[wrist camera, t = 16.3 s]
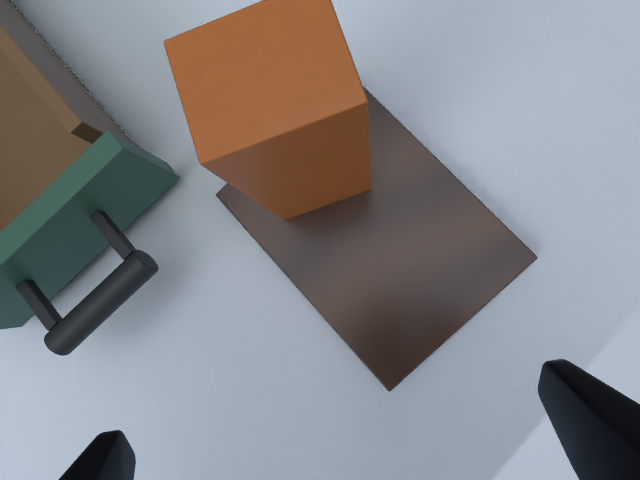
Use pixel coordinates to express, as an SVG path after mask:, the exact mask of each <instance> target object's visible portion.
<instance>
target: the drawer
mask: <svg viewBox="0 0 640 480" xmlns="http://www.w3.org/2000/svg"><path fill="white" fill-rule="evenodd" d="M178 178H179V176H178V175H177V174H176V173H175V172H174V170H173V169H172V168H171V167H170V166H169V165H168V164H167V163H166V162H164V161H162V160H161V159H159V158H157V157H155V156H154V155H152V154H150V153H148V152H146V151H145V150H143V149H141V148H139V147H138V146H136V145H134V144H132V143H131V141H130V140H129V139H128V138H127V137H126V136H125V135H124V133H123V132H122V131H121V130H120V129H119V128H118V126H117V125H116V124H115V123H114V122H113V121H112V119H111V118H110V117H109V116H108V115H107V114H106V112H105V111H104V110H103V109H102V108H101V107H100V105H99V104H98V103H97V102H96V101H95V100H94V98H93V97H92V96H91V95H90V94H89V93H88V92H87V90H86V89H85V88H84V87H83V86H82V85H81V83H80V82H79V81H78V80H77V79H76V78H75V76H74V75H73V74H72V73H71V72H70V71H69V69H68V68H67V67H66V66H65V65H64V64H63V62H62V61H61V60H60V59H59V58H58V57H57V56H56V54H55V53H54V52H53V51H52V50H51V49H50V47H49V46H48V45H47V44H46V43H45V42H44V40H43V39H42V38H41V37H40V36H39V35H38V33H37V32H36V31H35V30H34V29H33V28H32V26H31V25H30V24H29V23H28V22H27V21H26V19H25V18H24V17H23V16H22V15H21V14H20V13H19V11H18V10H17V9H16V8H15V7H14V6H13V4H12V3H11V2H10V1H9V0H0V329H8V328H15V327H22V326H23V325H24V324H25V323H26V322H27V321H28V320H29V319H30V318H31V317H32V316H34V315H35V314H36V316H37V317H38V318H39V320H40V321H41V322H42V324H43V325H44V326H45V328H46V329H47V330H48V331H49V332H48V333H47V334H46V335H45V338H44V342H45V344H46V346H47V347H48V349H49V350H51V351H52V352H54V353H55V354H58V355H68V354H70V353H71V352H72V351H73V350H74V349H75V348H76V347H77V346H78V345H79V344H80V343H81V342H82V341H84V340H85V339H86V338H87V337H88V336H89V335H90V334H91V333H92V332H93V331H94V330H95V329H96V328H97V327H98V326H100V325H101V324H102V323H103V322H104V321H105V320H106V319H107V318H108V317H109V316H110V315H111V314H112V313H113V312H114V311H116V310H117V309H118V308H119V307H120V306H121V305H122V304H123V303H124V302H125V301H126V300H127V299H128V298H129V297H130V296H132V295H133V294H134V293H135V292H136V291H137V290H138V289H139V288H140V287H141V286H142V285H143V284H144V283H145V282H146V281H148V280H149V279H150V278H151V277H152V276H153V275H154V274H155V273H156V272H157V271H158V266H157V264H156V262H155V261H154V260H153V259H152V258H151V257H150V256H149V255H148V254H146V253H145V252H143V251H141V250H136V249H135V248H134V247H133V245H132V244H131V243H130V242H129V240H128V239H127V238H126V237H125V236H124V234H123V233H122V231H123V230H125V229H126V228H127V227H128V226H129V225H130V224H131V223H132V222H133V221H134V220H135V219H136V218H137V217H138V216H139V215H140V214H141V213H143V212H144V211H145V210H146V209H147V208H148V207H149V206H150V205H151V204H152V203H153V202H154V201H155V200H156V199H157V198H158V197H159V196H161V195H162V194H163V193H164V192H165V191H166V190H167V189H168V188H169V187H170V186H171V185H172V184H173V183H174V182H175V181H176V180H177V179H178ZM109 244H111V245H112V246H113V248H114V249H115V250H116V251H117V253H118V254H119V255H120V256H121V258H122V259H123V260H125V261H124V262H123V263H121V264H120V265H119V266H118V267H117V268H116V269H115V270H114V271H113V272H112V273H111V274H110V275H109V276H108V277H107V278H106V279H104V280H103V281H102V282H101V283H100V284H99V285H98V286H97V287H96V288H95V289H94V290H93V291H92V292H91V293H90V294H89V295H87V296H86V297H85V298H84V299H83V300H82V301H81V302H80V303H79V304H78V305H77V306H76V307H75V308H74V309H73V310H72V311H70V312H69V313H68V314H67V315H66V316H65V317H64V318H63V319H62V317H61V316H60V315H59V313H58V312H57V311H56V309H55V308H54V307H53V305H52V304H51V303H50V301H49V300H50V299H52V298H53V297H54V296H55V295H56V294H57V293H58V292H59V291H60V290H61V289H62V288H63V287H64V286H65V285H66V284H67V283H68V282H70V281H71V280H72V279H73V278H74V277H75V276H76V275H77V274H78V273H79V272H80V271H81V270H82V269H83V268H84V267H85V266H86V265H88V264H89V263H90V262H91V261H92V260H93V259H94V258H95V257H96V256H97V255H98V254H99V253H100V252H101V251H102V250H103V249H104V248H105V247H107V246H108V245H109Z"/></svg>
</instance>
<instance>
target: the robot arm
mask: <svg viewBox="0 0 640 480" xmlns="http://www.w3.org/2000/svg"><path fill="white" fill-rule="evenodd" d="M538 393H539V397H540V399H541V401H542V404H543V406H544V408H545V410H546V412H547V414H548V416H549V419H550V421H551V423H552V425H553V427H554V429H555V431H556V433H557V436H558V438H559V440H560V442H561V444H562V446H563V448H564V451H565V453H566V455H567V457H568V459H569V461H570V463H571V465H572V467H573V469H574V471H575V472H576V474H577V476H578V478H579V480H640V404H638V403H637V402H635V401H633V400H632V399H630V398H628V397H627V396H625V395H623V394H622V393H620V392H618V391H617V390H615V389H614V388H612V387H610V386H609V385H607V384H605V383H604V382H602V381H600V380H599V379H597V378H595V377H594V376H592V375H590V374H589V373H587V372H586V371H584V370H582V369H581V368H579V367H577V366H576V365H574V364H572V363H571V362H569V361H567V360H564V359H558V360H551V361H546V362H545V363H544V364H543V366H542V371H541V375H540V380H539V384H538ZM135 464H136V459H135V454H134V451H133V449H132V448H131V446H130V444H129V442H128V440H127V439H126V437H125V435H124V433H123V432H122V431H120V430H115V431H109V432H103V433H101V434H99V435H98V436H97V437H96V438H95V439H94V440H93V441H92V442H91V443H90V444H89V445H88V447H87V448H86V449H85V450H84V451H83V452H82V453H81V455H80V456H79V457H78V458H77V459H76V460H75V461H74V463H73V464H72V465H71V466H70V467H69V468H68V469H67V471H66V472H65V473H64V474H63V475H62V476H61V477H60V479H59V480H133V479H134V472H135Z"/></svg>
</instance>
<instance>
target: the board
mask: <svg viewBox="0 0 640 480" xmlns="http://www.w3.org/2000/svg"><path fill="white" fill-rule="evenodd" d="M363 89H364V92H365V95H366V97H367V100H368V119H369V141H370V163H371V185H372V189H371V190H369V191H366V192H363V193H360V194H357V195H354V196H352V197H349V198H346V199H343V200H340V201H337V202H335V203H332V204H329V205H326V206H323V207H321V208H318V209H315V210H312V211H309V212H306V213H304V214H301V215H298V216H295V217H292V218H290V219H287V220H283V219H282V218H280V217H279V216H277V215H276V214H274V213H273V212H271V211H270V210H268V209H267V208H265V207H264V206H262V205H261V204H259V203H258V202H256V201H255V200H253V199H252V198H250V197H248V196H247V195H245V194H244V193H242V192H241V191H239V190H238V189H236V188H235V187H233V186H232V185H230V184H229V183H227V184H226V185H225V186H224V187H223V188H222V189H221V190H220V191H219V192H218V193H217V194H216V196H217V197H218V198H219V199H220V200H221V202H222V203H223V204H224V205H225V206H226V207H227V208H228V210H229V211H230V212H231V213H232V214H233V215H234V216H235V217H236V219H237V220H238V221H239V222H240V223H241V224H242V225H243V227H244V228H245V229H246V230H247V231H248V232H249V233H250V234H251V236H252V237H253V238H254V239H255V240H256V241H257V242H258V244H259V245H260V246H261V247H262V248H263V249H264V250H265V251H266V253H267V254H268V255H269V256H270V257H271V258H272V259H273V261H274V262H275V263H276V264H277V265H278V266H279V267H280V268H281V270H282V271H283V272H284V273H285V274H286V275H287V276H288V278H289V279H290V280H291V281H292V282H293V283H294V284H295V286H296V287H297V288H298V289H299V290H300V291H301V292H302V293H303V295H304V296H305V297H306V298H307V299H308V300H309V301H310V303H311V304H312V305H313V306H314V307H315V308H316V309H317V310H318V312H319V313H320V314H321V315H322V316H323V317H324V318H325V320H326V321H327V322H328V323H329V324H330V325H331V326H332V327H333V329H334V330H335V331H336V332H337V333H338V334H339V335H340V337H341V338H342V339H343V340H344V341H345V342H346V343H347V344H348V346H349V347H350V348H351V349H352V350H353V351H354V352H355V354H356V355H357V356H358V357H359V358H360V359H361V360H362V361H363V363H364V364H365V365H366V366H367V367H368V368H369V369H370V371H371V372H372V373H373V374H374V375H375V376H376V377H377V378H378V380H379V381H380V382H381V383H382V384H383V385H384V386H385V388H386V389H387V390H388V391H391V390H392V389H393V388H394V387H395V386H397V385H398V384H399V383H400V382H401V381H402V380H403V379H404V378H405V377H406V376H408V375H409V374H410V373H411V372H412V371H413V370H414V369H415V368H416V367H418V366H419V365H420V364H421V363H422V362H423V361H424V360H425V359H426V358H428V357H429V356H430V355H431V354H432V353H433V352H434V351H435V350H436V349H437V348H439V347H440V346H441V345H442V344H443V343H444V342H445V341H446V340H447V339H449V338H450V337H451V336H452V335H453V334H454V333H455V332H456V331H457V330H459V329H460V328H461V327H462V326H463V325H464V324H465V323H466V322H467V321H468V320H470V319H471V318H472V317H473V316H474V315H475V314H476V313H477V312H478V311H480V310H481V309H482V308H483V307H484V306H485V305H486V304H487V303H488V302H489V301H491V300H492V299H493V298H494V297H495V296H496V295H497V294H498V293H499V292H501V291H502V290H503V289H504V288H505V287H506V286H507V285H508V284H509V283H511V282H512V281H513V280H514V279H515V278H516V277H517V276H518V275H519V274H520V273H522V272H523V271H524V270H525V269H526V268H527V267H528V266H529V265H530V264H532V263H533V262H534V261H535V260H536V259H537V258H538V257H537V256H536V255H535V254H534V253H533V252H532V251H531V250H530V249H529V248H528V247H527V246H526V245H525V244H524V243H523V242H522V241H521V240H520V239H519V238H517V237H516V236H515V235H514V234H513V233H512V232H511V231H510V230H509V229H508V228H507V227H506V226H505V225H504V224H503V223H502V222H501V221H500V220H499V219H498V218H497V217H496V216H495V215H494V214H493V213H492V212H491V211H490V210H489V209H488V208H487V207H486V206H485V205H484V204H483V203H482V202H481V201H480V200H479V199H478V198H477V197H476V196H475V195H474V194H473V193H472V192H471V191H469V190H468V189H467V188H466V187H465V186H464V185H463V184H462V183H461V182H460V181H459V180H458V179H457V178H456V177H455V176H454V175H453V174H452V173H451V172H450V171H449V170H448V169H447V168H446V167H445V166H444V165H443V164H442V163H441V162H440V161H439V160H438V159H437V158H436V157H435V156H434V155H433V154H432V153H431V152H430V151H429V150H428V149H427V148H426V147H425V146H424V145H423V144H421V143H420V142H419V141H418V140H417V139H416V138H415V137H414V136H413V135H412V134H411V133H410V132H409V131H408V130H407V129H406V128H405V127H404V126H403V125H402V124H401V123H400V122H399V121H398V120H397V119H396V118H395V117H394V116H393V115H392V114H391V113H390V112H389V111H388V110H387V109H386V108H385V107H384V106H383V105H382V104H381V103H380V102H379V101H378V100H377V99H376V98H375V97H373V96H372V95H371V94H370V93H369V92H368V91H367V90H366V89H365V88H364V87H363Z"/></svg>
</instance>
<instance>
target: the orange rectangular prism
mask: <svg viewBox="0 0 640 480" xmlns="http://www.w3.org/2000/svg"><path fill="white" fill-rule="evenodd" d="M164 46H165V49H166V53H167V56H168V59H169V63H170V66H171V69H172V73H173V76H174V79H175V83H176V86H177V89H178V93H179V96H180V99H181V103H182V106H183V109H184V113H185V116H186V119H187V123H188V126H189V129H190V133H191V136H192V139H193V143H194V146H195V149H196V153H197V156H198V159H199V163H200V164H201V165H202V166H203V167H205V168H206V169H208V170H209V171H211V172H212V173H214V174H215V175H217V176H218V177H220V178H221V179H223V180H224V181H226V182H227V183H229V184H230V185H232V186H233V187H235V188H236V189H238V190H239V191H241V192H242V193H244V194H245V195H247V196H248V197H250V198H252V199H253V200H255V201H256V202H258V203H259V204H261V205H262V206H264V207H265V208H267V209H268V210H270V211H271V212H273V213H274V214H276V215H277V216H279V217H280V218H282V219H283V220H287V219H290V218H292V217H295V216H298V215H301V214H304V213H306V212H309V211H312V210H315V209H318V208H321V207H323V206H326V205H329V204H332V203H335V202H337V201H340V200H343V199H346V198H349V197H352V196H354V195H357V194H360V193H363V192H366V191H369V190H371V189H372V185H371V163H370V141H369V119H368V100H367V97H366V95H365V92H364V89H363V86H362V84H361V81H360V78H359V75H358V73H357V70H356V67H355V64H354V62H353V59H352V56H351V54H350V51H349V48H348V45H347V43H346V40H345V37H344V34H343V32H342V29H341V26H340V24H339V21H338V18H337V15H336V13H335V10H334V7H333V4H332V2H331V0H263V1H260V2H258V3H255V4H253V5H251V6H248V7H246V8H243V9H241V10H238V11H236V12H233V13H231V14H229V15H226V16H224V17H221V18H219V19H216V20H214V21H211V22H209V23H207V24H204V25H202V26H199V27H197V28H194V29H192V30H189V31H187V32H185V33H182V34H180V35H177V36H175V37H172V38H170V39H167V40H165V41H164Z"/></svg>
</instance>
